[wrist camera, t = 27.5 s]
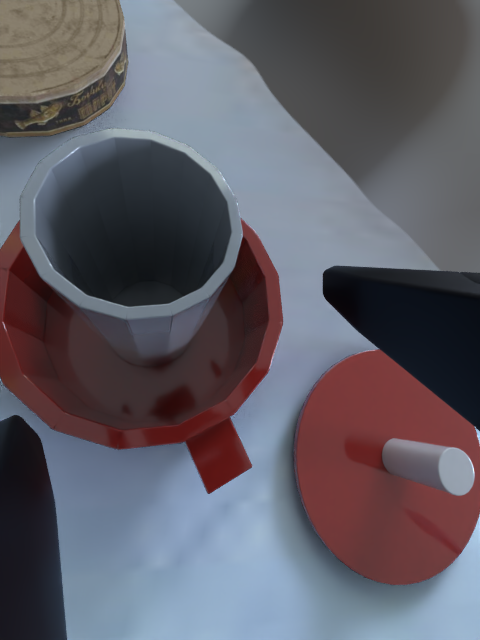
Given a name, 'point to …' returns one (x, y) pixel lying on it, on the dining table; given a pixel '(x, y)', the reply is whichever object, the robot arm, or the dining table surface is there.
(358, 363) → the dutch oven lid
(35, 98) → the tin can
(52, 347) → the dutch oven
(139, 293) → the steel cup
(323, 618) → the dining table surface
